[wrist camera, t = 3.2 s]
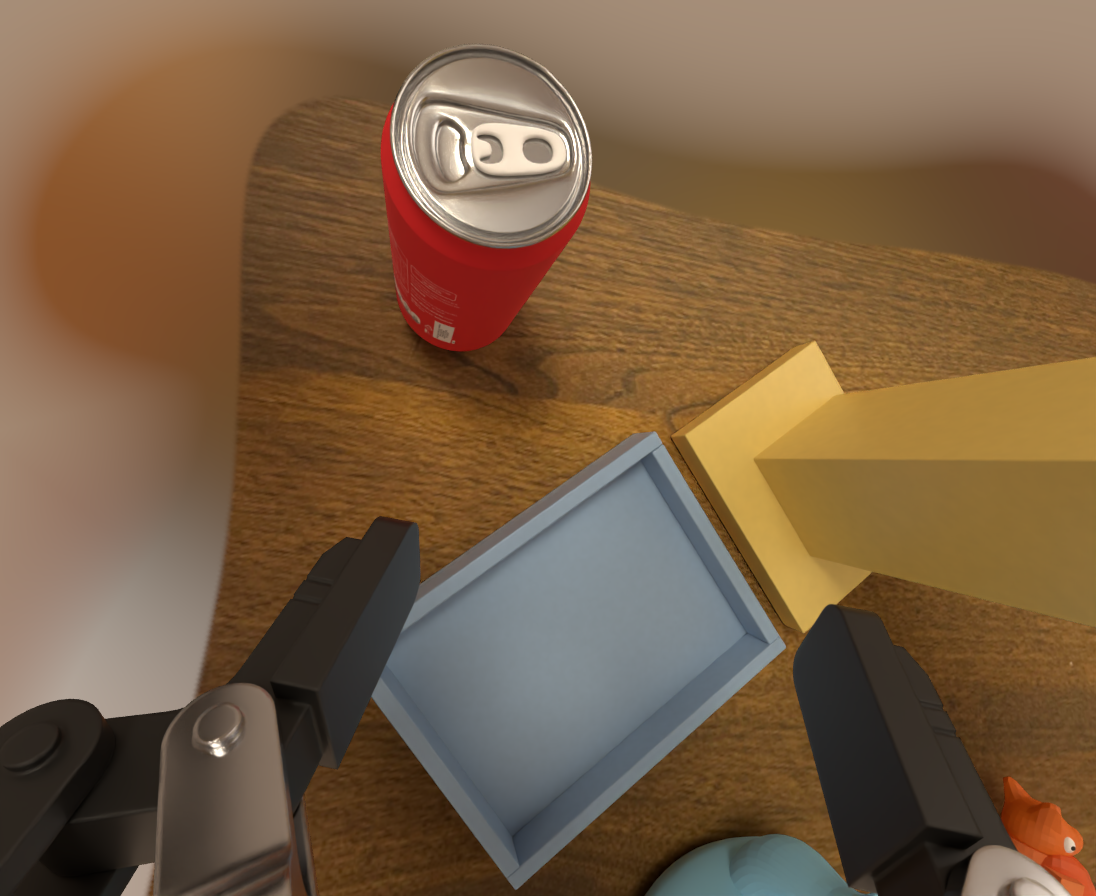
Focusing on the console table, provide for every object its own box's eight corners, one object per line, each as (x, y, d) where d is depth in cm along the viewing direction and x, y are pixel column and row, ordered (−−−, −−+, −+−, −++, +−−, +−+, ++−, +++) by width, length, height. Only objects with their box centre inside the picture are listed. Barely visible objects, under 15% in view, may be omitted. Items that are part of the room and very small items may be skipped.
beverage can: (390, 243, 23) (364, 21, 11) (505, 241, 24) (589, 41, 12) (403, 360, 23) (392, 259, 11) (518, 352, 24) (613, 255, 13)
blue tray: (347, 634, 22) (339, 655, 20) (633, 433, 26) (655, 430, 23) (505, 849, 24) (515, 891, 21) (755, 631, 27) (787, 647, 25)
